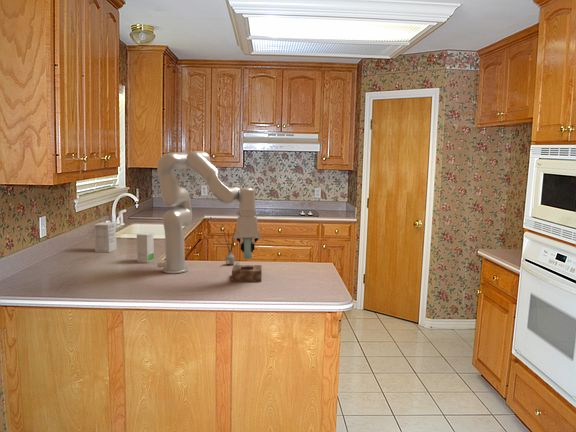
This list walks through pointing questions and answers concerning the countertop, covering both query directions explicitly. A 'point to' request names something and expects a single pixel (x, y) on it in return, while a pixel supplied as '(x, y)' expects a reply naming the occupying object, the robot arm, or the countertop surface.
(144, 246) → the skincare box
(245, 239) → the peg
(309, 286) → the countertop surface
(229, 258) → the reed diffuser
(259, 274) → the socket block
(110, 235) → the supplement box
